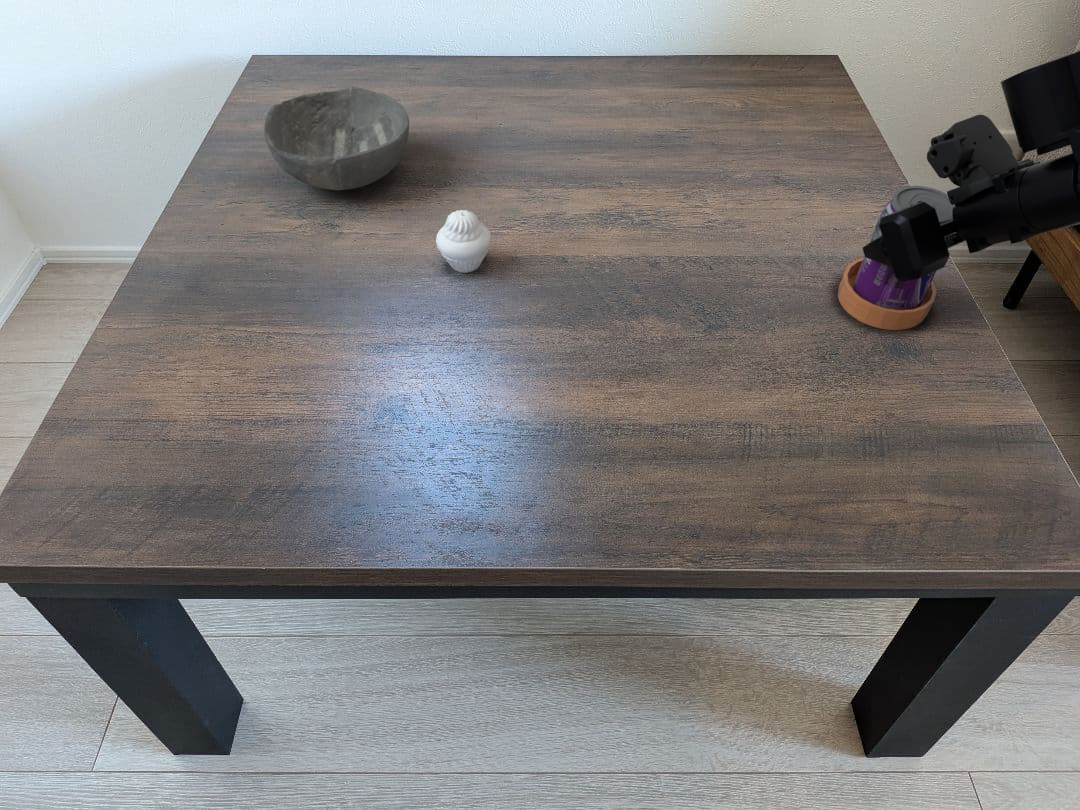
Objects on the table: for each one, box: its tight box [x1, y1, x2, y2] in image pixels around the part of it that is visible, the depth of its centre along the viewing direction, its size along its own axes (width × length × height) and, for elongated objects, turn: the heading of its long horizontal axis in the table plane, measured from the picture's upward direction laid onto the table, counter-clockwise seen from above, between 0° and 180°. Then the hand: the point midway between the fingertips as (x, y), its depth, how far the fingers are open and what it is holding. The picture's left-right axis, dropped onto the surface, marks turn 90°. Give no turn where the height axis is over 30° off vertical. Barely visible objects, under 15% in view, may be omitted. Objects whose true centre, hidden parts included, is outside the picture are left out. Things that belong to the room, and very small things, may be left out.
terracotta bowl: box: [837, 256, 937, 331], centre depth 85 cm, size 9×9×2 cm
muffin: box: [435, 209, 492, 274], centre depth 87 cm, size 6×6×7 cm
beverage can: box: [853, 185, 955, 310], centre depth 81 cm, size 7×7×12 cm
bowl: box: [263, 86, 410, 191], centre depth 99 cm, size 18×18×8 cm
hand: (897, 238), depth 80 cm, fingers open, 9 cm apart
